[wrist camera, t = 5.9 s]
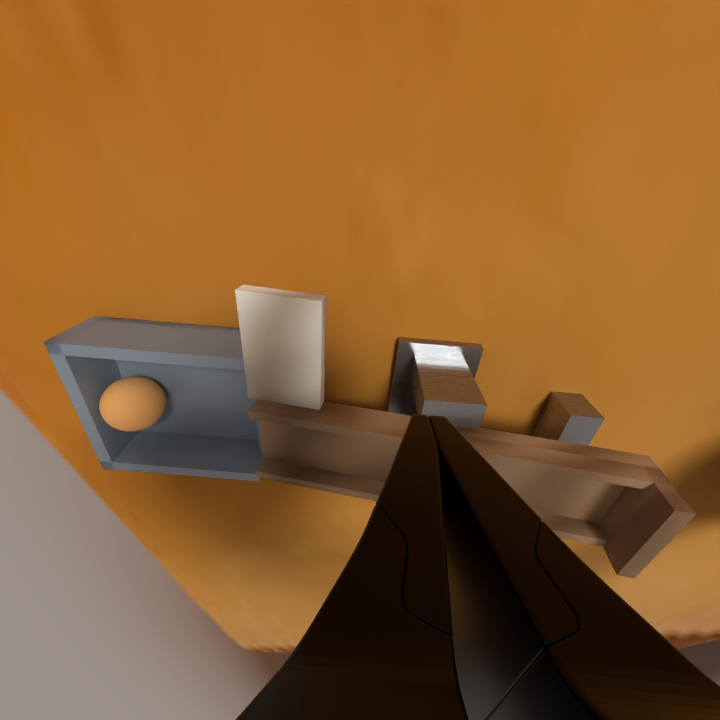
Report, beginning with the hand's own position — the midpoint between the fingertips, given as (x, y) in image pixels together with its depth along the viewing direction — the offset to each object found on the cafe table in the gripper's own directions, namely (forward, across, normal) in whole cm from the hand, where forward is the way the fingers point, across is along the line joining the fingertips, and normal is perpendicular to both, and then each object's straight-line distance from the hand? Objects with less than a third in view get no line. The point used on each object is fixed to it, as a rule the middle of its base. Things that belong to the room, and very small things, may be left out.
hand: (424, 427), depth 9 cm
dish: (+11, +13, +8) cm, 19 cm away
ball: (+9, +16, +8) cm, 20 cm away
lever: (+8, -3, +5) cm, 10 cm away
